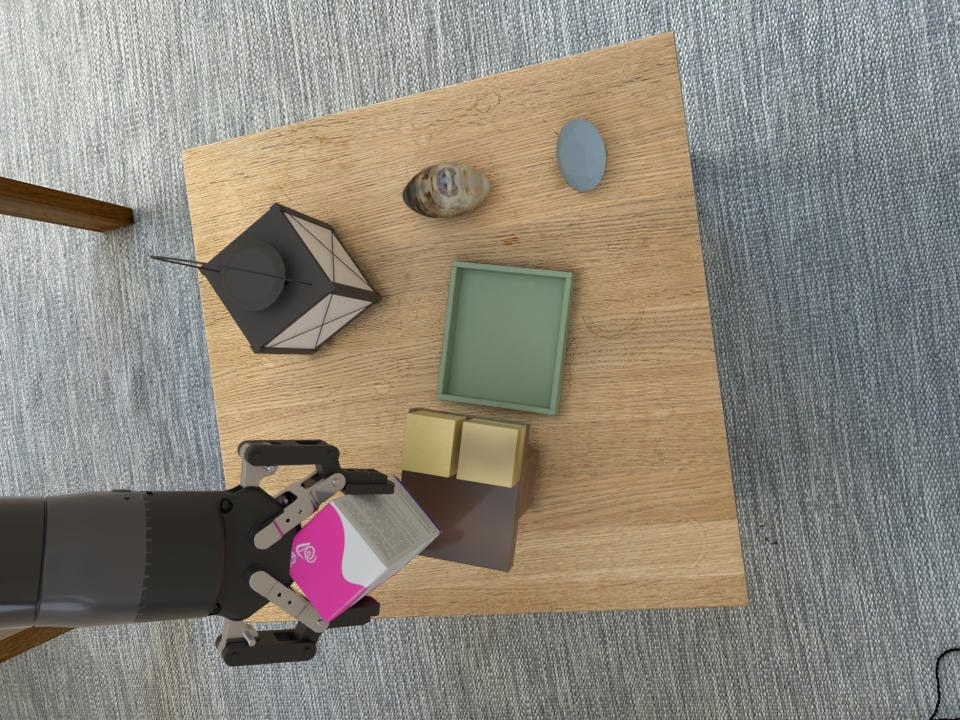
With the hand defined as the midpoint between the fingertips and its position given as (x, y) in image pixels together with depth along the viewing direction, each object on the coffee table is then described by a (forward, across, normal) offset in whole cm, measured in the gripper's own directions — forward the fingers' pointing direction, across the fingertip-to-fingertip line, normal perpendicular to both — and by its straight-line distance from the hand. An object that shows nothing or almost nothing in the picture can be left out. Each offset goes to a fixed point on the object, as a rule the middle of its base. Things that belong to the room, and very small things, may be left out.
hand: (382, 545), depth 53 cm
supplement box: (+3, 0, +5) cm, 6 cm away
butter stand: (+25, +3, +22) cm, 34 cm away
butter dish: (+24, +16, +23) cm, 37 cm away
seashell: (+19, +31, +29) cm, 46 cm away
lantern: (+8, +19, +40) cm, 45 cm away
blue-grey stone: (+28, +36, +19) cm, 49 cm away
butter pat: (+8, +6, +7) cm, 12 cm away
